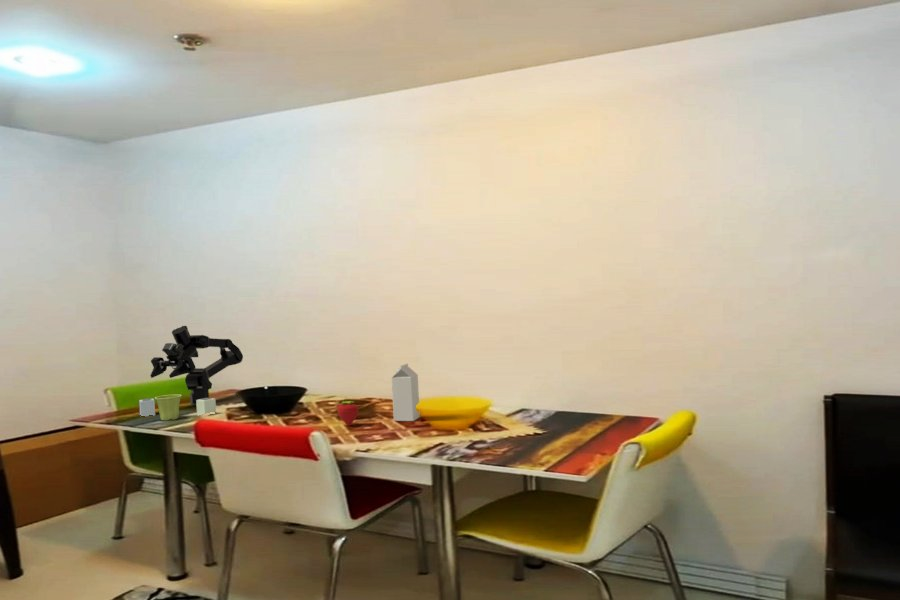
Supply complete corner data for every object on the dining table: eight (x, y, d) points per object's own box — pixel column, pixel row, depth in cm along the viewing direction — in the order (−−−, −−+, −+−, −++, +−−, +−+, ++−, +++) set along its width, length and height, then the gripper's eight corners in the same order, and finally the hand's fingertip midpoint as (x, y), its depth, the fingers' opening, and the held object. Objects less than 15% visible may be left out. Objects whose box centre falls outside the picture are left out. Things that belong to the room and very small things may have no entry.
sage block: (208, 413, 266) (207, 397, 266) (216, 414, 263) (215, 397, 263) (197, 415, 262) (196, 399, 261) (204, 416, 259) (204, 400, 259)
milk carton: (419, 417, 237) (417, 363, 236) (413, 421, 230) (410, 365, 230) (400, 417, 239) (398, 363, 238) (393, 421, 232) (390, 365, 232)
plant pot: (150, 421, 253) (149, 398, 253) (166, 416, 262) (165, 394, 262) (172, 421, 250) (171, 398, 250) (187, 416, 260) (186, 394, 259)
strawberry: (352, 428, 223) (351, 398, 223) (334, 427, 227) (332, 397, 226) (363, 424, 229) (361, 395, 228) (344, 423, 232) (343, 394, 232)
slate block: (153, 413, 271) (152, 397, 271) (155, 415, 266) (154, 399, 266) (140, 415, 268) (139, 399, 268) (141, 417, 264) (140, 400, 264)
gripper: (158, 338, 280) (133, 360, 268) (195, 337, 274) (171, 359, 261) (168, 360, 286) (144, 383, 273) (205, 360, 279) (182, 383, 266)
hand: (160, 376), depth 268 cm, fingers open, 9 cm apart
